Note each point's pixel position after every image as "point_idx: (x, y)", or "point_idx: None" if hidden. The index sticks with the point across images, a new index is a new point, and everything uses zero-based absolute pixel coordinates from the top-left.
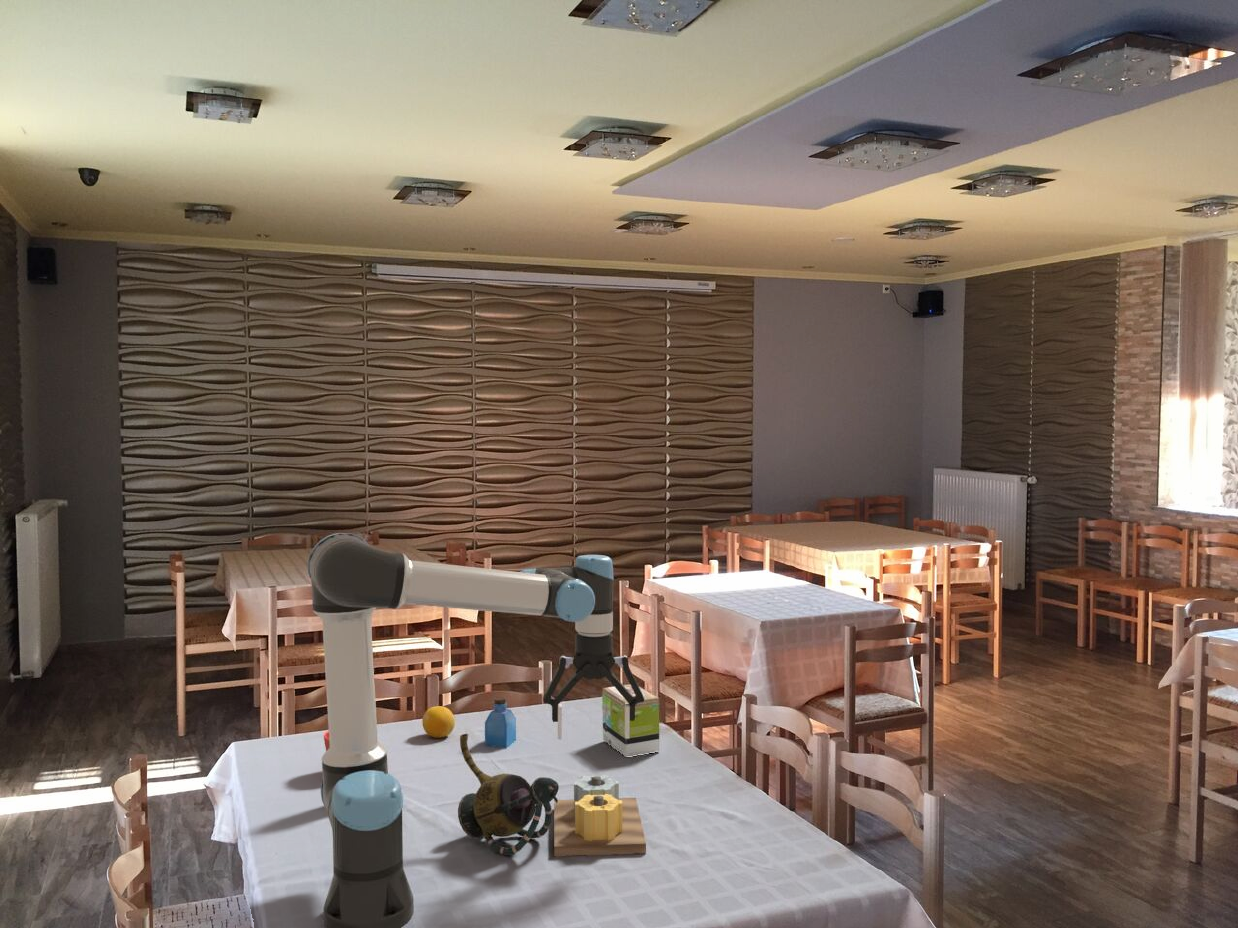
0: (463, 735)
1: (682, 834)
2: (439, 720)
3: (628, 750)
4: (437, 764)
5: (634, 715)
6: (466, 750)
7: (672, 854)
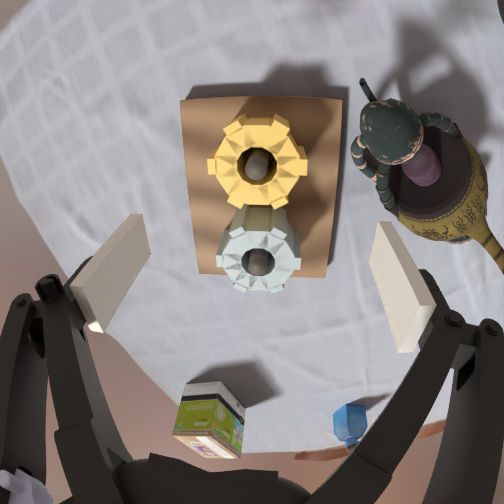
0: None
1: (132, 168)
2: None
3: (216, 387)
4: None
5: (80, 269)
6: None
7: (145, 98)
